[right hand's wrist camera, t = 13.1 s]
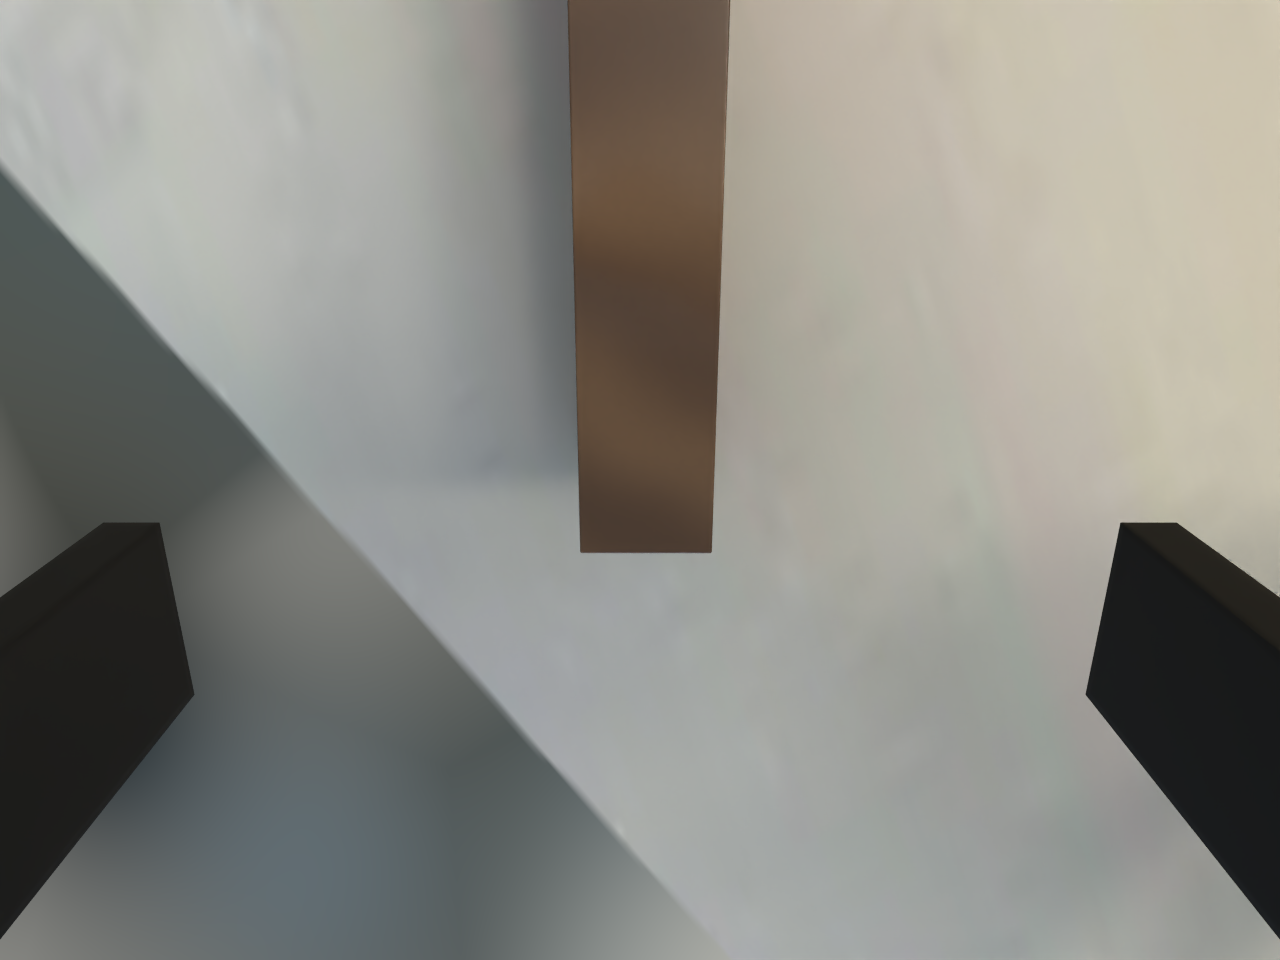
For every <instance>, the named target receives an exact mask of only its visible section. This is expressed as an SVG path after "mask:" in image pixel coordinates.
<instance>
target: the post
mask: <svg viewBox="0 0 1280 960" xmlns="http://www.w3.org/2000/svg"><path fill="white" fill-rule="evenodd" d="M729 20H730V0H568V39H569V83H570V126H571V169H572V213H573V256H574V299H575V343H576V386H577V429H578V473H579V516H580V552H581V553H711V552H712V528H713V498H714V468H715V438H716V408H717V378H718V348H719V319H720V289H721V259H722V229H723V199H724V169H725V139H726V109H727V79H728V49H729Z"/></svg>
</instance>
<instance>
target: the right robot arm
mask: <svg viewBox="0 0 1280 960" xmlns="http://www.w3.org/2000/svg"><path fill="white" fill-rule="evenodd" d="M193 696H194V690H193V685H192V680H191V676H190V671H189V666H188V661H187V656H186V651H185V646H184V641H183V636H182V631H181V626H180V622H179V617H178V612H177V607H176V602H175V597H174V592H173V587H172V582H171V577H170V572H169V568H168V563H167V558H166V553H165V548H164V543H163V538H162V533H161V528H160V523H102V524H101V525H100V526H98V527H97V528H95V529H94V530H93V531H91V532H90V533H88V534H87V535H86V536H84V537H83V538H82V539H80V540H79V541H78V542H76V543H75V544H73V545H72V546H71V547H69V548H68V549H66V550H65V551H64V552H62V553H61V554H60V555H58V556H57V557H55V558H54V559H53V560H51V561H50V562H49V563H47V564H46V565H44V566H43V567H42V568H40V569H39V570H38V571H36V572H35V573H33V574H32V575H31V576H29V577H28V578H26V579H25V580H24V581H22V582H21V583H20V584H18V585H17V586H15V587H14V588H13V589H11V590H10V591H9V592H7V593H6V594H4V595H3V596H2V597H0V939H1V938H2V936H3V935H4V934H5V933H6V931H7V930H8V929H9V927H10V926H11V925H12V924H13V922H14V921H15V920H16V919H17V917H18V916H19V915H20V914H21V912H22V911H23V910H24V909H25V907H26V906H27V905H28V904H29V902H30V901H31V900H32V899H33V897H34V896H35V895H36V894H37V892H38V891H39V890H40V888H41V887H42V886H43V885H44V883H45V882H46V881H47V880H48V878H49V877H50V876H51V875H52V873H53V872H54V871H55V870H56V868H57V867H58V866H59V864H60V863H61V862H62V861H63V860H64V858H65V857H66V856H67V854H68V853H69V852H70V851H71V849H72V848H73V847H74V846H75V844H76V843H77V842H78V841H79V839H80V838H81V837H82V836H83V834H84V833H85V832H86V831H87V829H88V828H89V827H90V825H91V824H92V823H93V822H94V820H95V819H96V818H97V817H98V815H99V814H100V813H101V812H102V810H103V809H104V808H105V807H106V805H107V804H108V803H109V802H110V800H111V799H112V798H113V796H114V795H115V794H116V793H117V791H118V790H119V789H120V788H121V786H122V785H123V784H124V783H125V781H126V780H127V779H128V778H129V776H130V775H131V774H132V773H133V771H134V770H135V769H136V768H137V766H138V765H139V764H140V762H141V761H142V760H143V759H144V757H145V756H146V755H147V754H148V752H149V751H150V750H151V749H152V747H153V746H154V745H155V744H156V742H157V741H158V740H159V739H160V737H161V736H162V735H163V733H164V732H165V731H166V730H167V728H168V727H169V726H170V725H171V723H172V722H173V721H174V720H175V718H176V717H177V716H178V715H179V713H180V712H181V711H182V710H183V708H184V707H185V706H186V705H187V703H188V702H189V701H190V699H191V698H192V697H193ZM1086 696H1087V697H1088V698H1089V700H1090V701H1091V702H1092V703H1093V705H1094V706H1095V707H1096V708H1097V710H1098V711H1099V712H1100V713H1101V715H1102V716H1103V717H1104V718H1105V720H1106V721H1107V722H1108V723H1109V725H1110V726H1111V727H1112V728H1113V730H1114V731H1115V732H1116V734H1117V735H1118V736H1119V737H1120V739H1121V740H1122V741H1123V742H1124V744H1125V745H1126V746H1127V747H1128V749H1129V750H1130V751H1131V752H1132V754H1133V755H1134V756H1135V757H1136V759H1137V760H1138V761H1139V762H1140V764H1141V765H1142V766H1143V768H1144V769H1145V770H1146V771H1147V773H1148V774H1149V775H1150V776H1151V778H1152V779H1153V780H1154V781H1155V783H1156V784H1157V785H1158V786H1159V788H1160V789H1161V790H1162V791H1163V793H1164V794H1165V795H1166V797H1167V798H1168V799H1169V800H1170V802H1171V803H1172V804H1173V805H1174V807H1175V808H1176V809H1177V810H1178V812H1179V813H1180V814H1181V815H1182V817H1183V818H1184V819H1185V820H1186V822H1187V823H1188V824H1189V825H1190V827H1191V828H1192V829H1193V831H1194V832H1195V833H1196V834H1197V836H1198V837H1199V838H1200V839H1201V841H1202V842H1203V843H1204V844H1205V846H1206V847H1207V848H1208V849H1209V851H1210V852H1211V853H1212V854H1213V856H1214V857H1215V858H1216V860H1217V861H1218V862H1219V863H1220V865H1221V866H1222V867H1223V868H1224V870H1225V871H1226V872H1227V873H1228V875H1229V876H1230V877H1231V878H1232V880H1233V881H1234V882H1235V883H1236V885H1237V886H1238V887H1239V888H1240V890H1241V891H1242V892H1243V894H1244V895H1245V896H1246V897H1247V899H1248V900H1249V901H1250V902H1251V904H1252V905H1253V906H1254V907H1255V909H1256V910H1257V911H1258V912H1259V914H1260V915H1261V916H1262V917H1263V919H1264V920H1265V921H1266V922H1267V924H1268V925H1269V926H1270V928H1271V929H1272V930H1273V931H1274V933H1275V934H1276V935H1277V936H1278V938H1279V939H1280V597H1278V596H1277V595H1276V594H1274V593H1273V592H1271V591H1270V590H1269V589H1267V588H1266V587H1265V586H1263V585H1262V584H1260V583H1259V582H1258V581H1256V580H1255V579H1254V578H1252V577H1251V576H1249V575H1248V574H1247V573H1245V572H1244V571H1243V570H1241V569H1240V568H1238V567H1237V566H1236V565H1234V564H1233V563H1231V562H1230V561H1229V560H1227V559H1226V558H1225V557H1223V556H1222V555H1220V554H1219V553H1218V552H1216V551H1215V550H1214V549H1212V548H1211V547H1209V546H1208V545H1207V544H1205V543H1204V542H1203V541H1201V540H1200V539H1198V538H1197V537H1196V536H1194V535H1193V534H1192V533H1190V532H1189V531H1187V530H1186V529H1185V528H1183V527H1182V526H1181V525H1179V524H1178V523H1120V528H1119V533H1118V538H1117V543H1116V548H1115V553H1114V558H1113V562H1112V567H1111V572H1110V577H1109V582H1108V587H1107V592H1106V597H1105V602H1104V607H1103V612H1102V617H1101V621H1100V626H1099V631H1098V636H1097V641H1096V646H1095V651H1094V656H1093V661H1092V666H1091V671H1090V676H1089V680H1088V685H1087V690H1086Z"/></svg>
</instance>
